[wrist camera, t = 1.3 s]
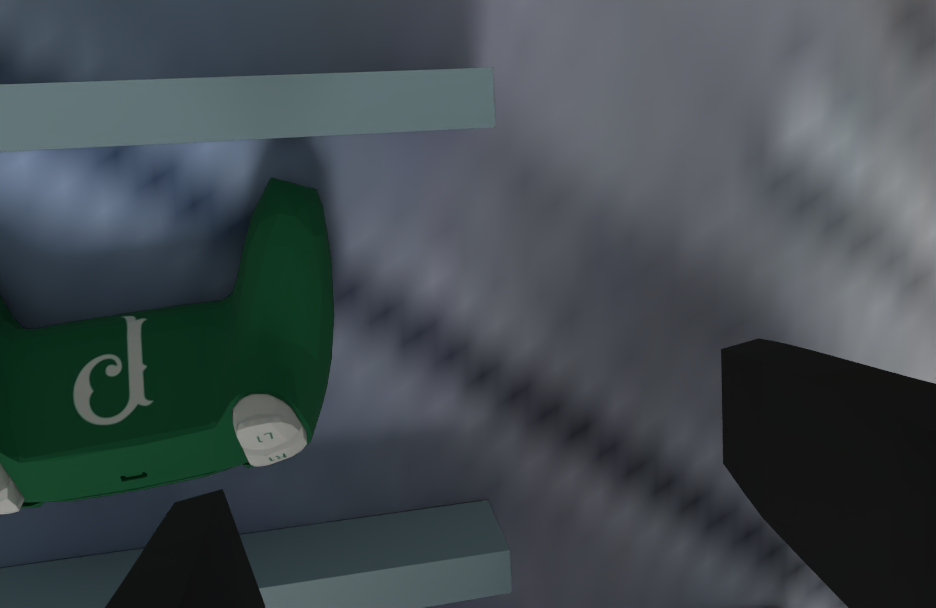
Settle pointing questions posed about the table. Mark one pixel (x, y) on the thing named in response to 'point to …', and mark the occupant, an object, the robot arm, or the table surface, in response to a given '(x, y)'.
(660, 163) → the table surface
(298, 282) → the dark green curved piece
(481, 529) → the pair of grey bars
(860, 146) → the table surface
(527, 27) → the table surface
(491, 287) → the table surface
